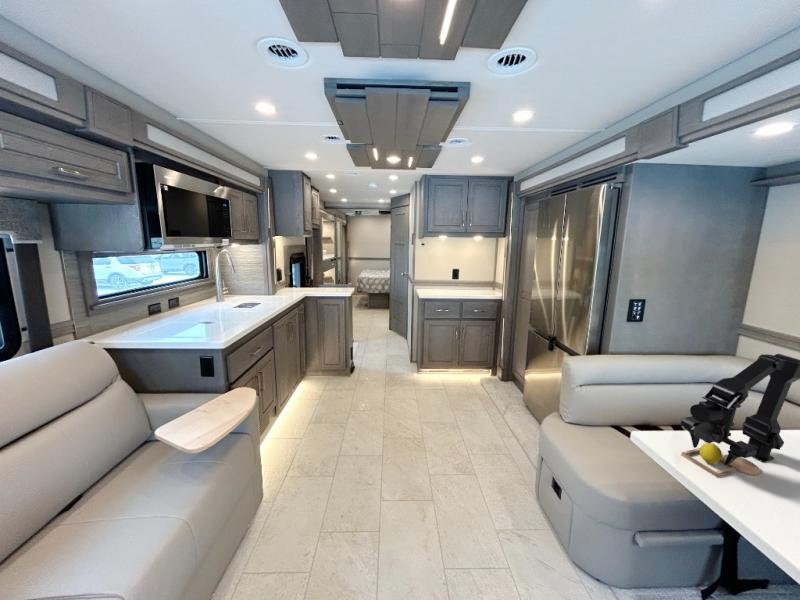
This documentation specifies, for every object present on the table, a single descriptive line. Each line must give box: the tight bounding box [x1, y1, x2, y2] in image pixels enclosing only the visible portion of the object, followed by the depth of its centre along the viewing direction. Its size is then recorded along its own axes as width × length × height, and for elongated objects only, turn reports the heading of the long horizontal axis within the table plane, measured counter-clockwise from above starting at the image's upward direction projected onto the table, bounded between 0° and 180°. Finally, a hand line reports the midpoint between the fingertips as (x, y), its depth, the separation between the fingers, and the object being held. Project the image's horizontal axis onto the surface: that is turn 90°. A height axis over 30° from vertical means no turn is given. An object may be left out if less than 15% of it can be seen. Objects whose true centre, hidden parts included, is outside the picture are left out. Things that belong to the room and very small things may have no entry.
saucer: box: [722, 454, 761, 476], centre depth 109 cm, size 9×9×1 cm
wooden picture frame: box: [680, 447, 738, 478], centre depth 110 cm, size 11×11×1 cm
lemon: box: [699, 442, 723, 464], centre depth 109 cm, size 6×6×8 cm
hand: (709, 455), depth 110 cm, fingers open, 9 cm apart
